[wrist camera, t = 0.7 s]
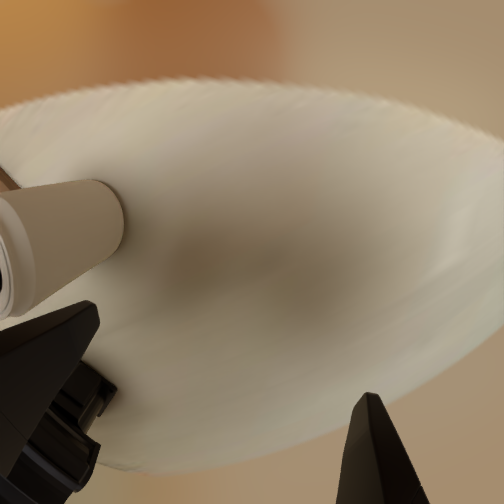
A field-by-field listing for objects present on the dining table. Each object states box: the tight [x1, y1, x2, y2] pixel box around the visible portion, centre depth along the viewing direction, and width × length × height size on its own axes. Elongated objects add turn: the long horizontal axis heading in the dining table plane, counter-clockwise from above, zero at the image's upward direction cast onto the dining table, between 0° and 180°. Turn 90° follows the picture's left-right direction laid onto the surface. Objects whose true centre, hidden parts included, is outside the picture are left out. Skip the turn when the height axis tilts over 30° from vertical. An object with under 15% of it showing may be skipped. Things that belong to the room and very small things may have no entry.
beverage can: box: [0, 180, 124, 320], centre depth 15 cm, size 6×6×12 cm
